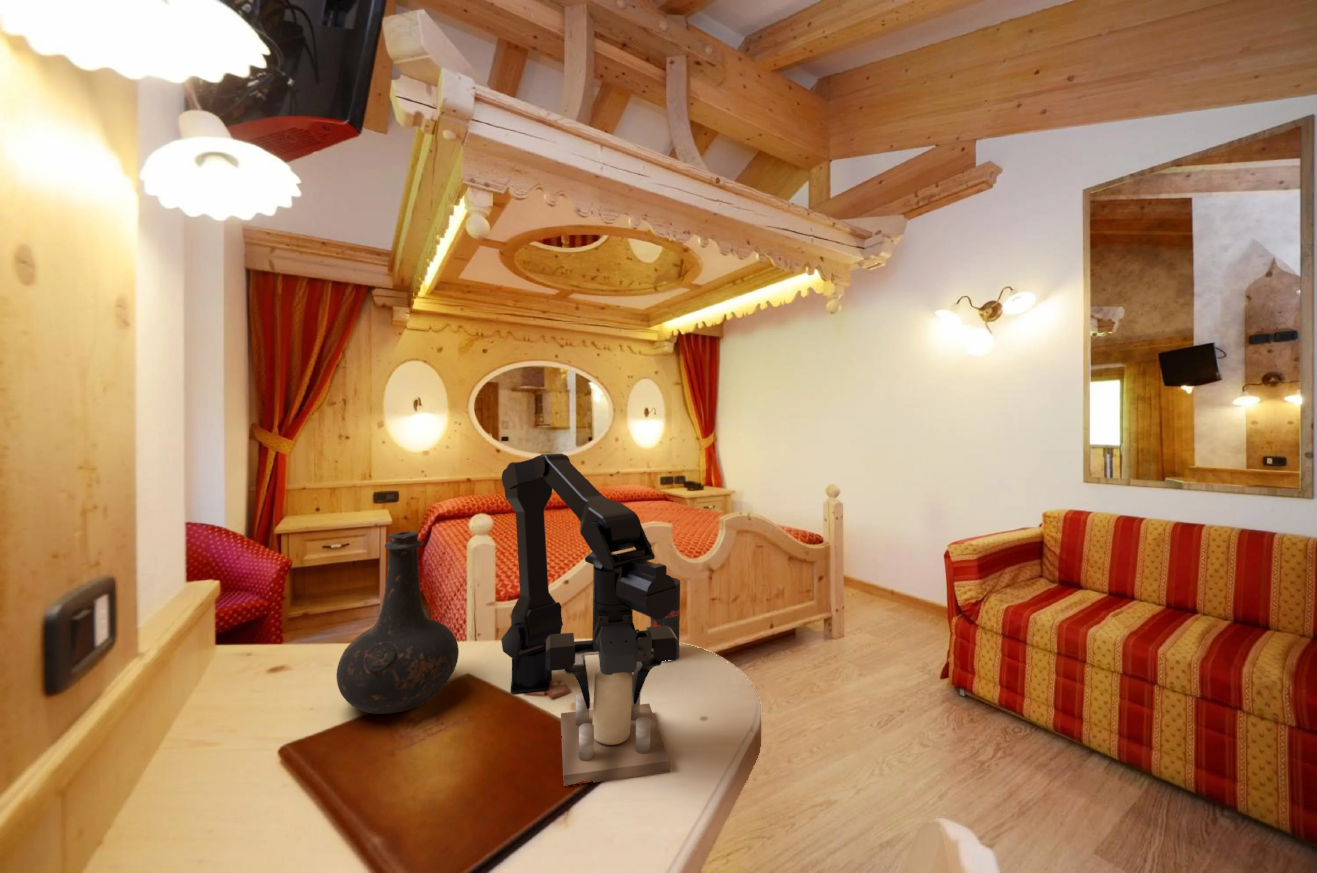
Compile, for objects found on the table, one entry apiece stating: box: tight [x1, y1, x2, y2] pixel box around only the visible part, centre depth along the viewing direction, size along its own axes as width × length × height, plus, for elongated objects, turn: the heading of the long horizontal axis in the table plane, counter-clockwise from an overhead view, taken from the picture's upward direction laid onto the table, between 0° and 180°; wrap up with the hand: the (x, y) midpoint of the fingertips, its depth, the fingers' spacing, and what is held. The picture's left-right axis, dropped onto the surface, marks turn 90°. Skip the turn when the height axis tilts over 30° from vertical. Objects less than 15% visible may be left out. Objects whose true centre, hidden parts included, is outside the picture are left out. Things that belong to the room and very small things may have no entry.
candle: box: [592, 668, 633, 745], centre depth 73 cm, size 6×6×10 cm
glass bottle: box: [336, 530, 460, 715], centre depth 84 cm, size 18×18×28 cm
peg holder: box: [560, 692, 671, 787], centre depth 73 cm, size 14×14×6 cm
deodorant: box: [649, 577, 681, 661], centre depth 101 cm, size 6×6×15 cm
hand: (611, 704), depth 73 cm, fingers open, 6 cm apart
